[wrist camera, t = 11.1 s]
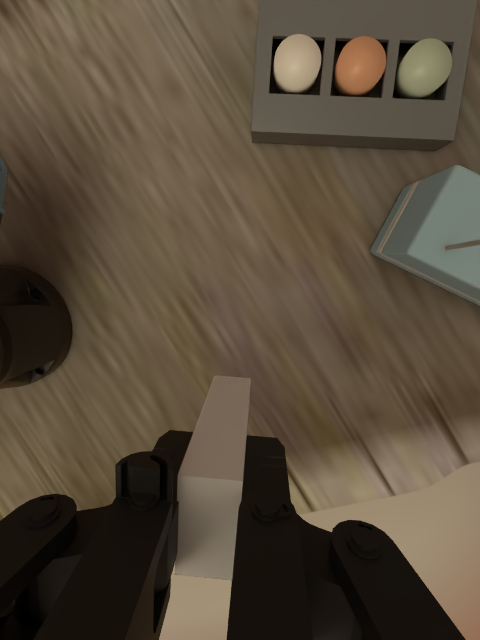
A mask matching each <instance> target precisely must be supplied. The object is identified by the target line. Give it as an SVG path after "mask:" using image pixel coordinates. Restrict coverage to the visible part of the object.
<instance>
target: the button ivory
mask: <svg viewBox="0 0 480 640" xmlns="http://www.w3.org/2000/svg"><path fill="white" fill-rule="evenodd" d="M320 65H321V52H320V49H319V47H318V45H317V43H316V42H315V41H314V40H313V39H312V38H311V37H309V36H307V35H303V34H295V35H291V36H289V37H287V38H286V39H284V40H283V41H282V42H281V44H280V45H279V46H278V48H277V50H276V53H275V58H274V70H273V77H274V82H275V85H276V87H277V88H278V90H279V91H280V92H281V93H282V94H297V95H304V94H306V93H307V92H308V91H310V89H311V88H312V87H313V85H314V83H315V81H316V78H317V75H318V72H319V69H320Z"/></svg>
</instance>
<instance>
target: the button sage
mask: <svg viewBox="0 0 480 640" xmlns="http://www.w3.org/2000/svg"><path fill="white" fill-rule="evenodd" d="M451 68H452V56H451V52H450V50H449V48H448V47H447V46H446V44H444V43H443V42H442V41H440V40H438V39H433V38H428V39H424V40H421V41H419V42H417V43H416V44H415V45H413V46H412V47H411V48H410V50H409V51H408V52H407V54H406V55H405V56H404V58H403V59H402V60H401V62H400V63H399V64H398V66H397V68H396V74H395V82H394V88H395V90H396V92H397V94H398V95H399V96H400V97H401V98H402V99H420V100H424V99H426V98H427V97H429V96H430V95H431V94H432V93H433V92H434V91H435V90H436V89H437V88H439V87H440V86H441V85H442V84H443V83H444V82H445V81H446V79H447V78H448V76H449V74H450V71H451Z"/></svg>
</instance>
